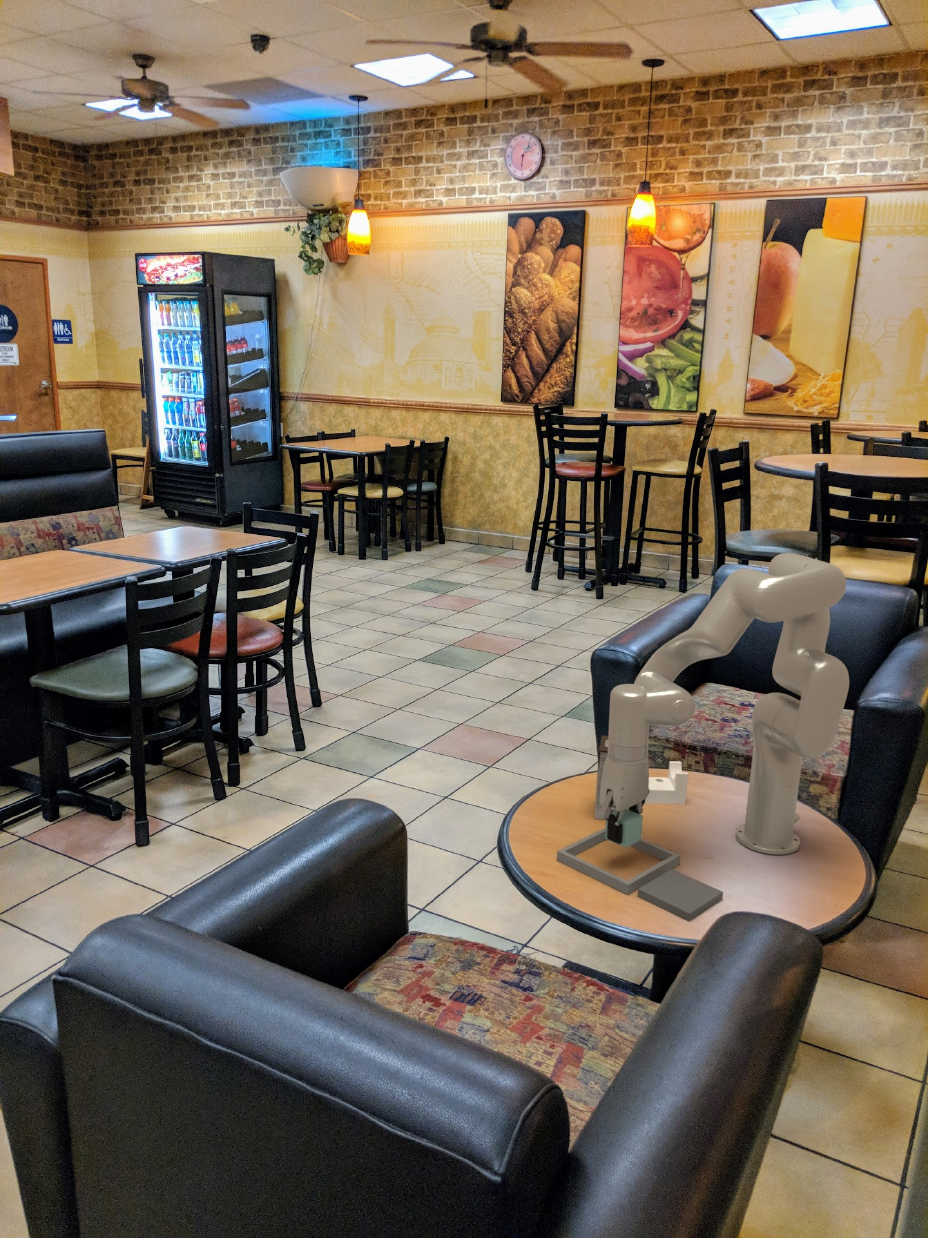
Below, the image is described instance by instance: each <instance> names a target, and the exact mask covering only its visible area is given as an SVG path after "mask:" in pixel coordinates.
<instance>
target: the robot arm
mask: <svg viewBox="0 0 928 1238" xmlns="http://www.w3.org/2000/svg"><path fill="white" fill-rule="evenodd" d="M846 589H847V578H846V575H845V574H844V572H843V571H842V570H841V568H839V567H838V566H836V565H834V564H831V563H829V562H826V561H823V560H819V559H815V558H813V557H809V556H805V555H802V554H798V553H793V552H783V553H780V554H778V555H776V556H774V557H773V558H772V559H771V560H770V563H769V566H768V570H767V573H766V572H763V571H760V570H756V569H753V568H752V569H751V568H738V569H736V570H734V571H733V572H731V573H730V574H729V575H728V576H727V578H726V579H725V580H724V582H723V583H722V584H721V586H720V587H719V588H718V590H717V591H716V592H715V594H714V595H713V596H712V597H711V600H710V601H709V602H708V603H707V605H706V606H705V608H704V609H703V611H702V612H701V614H700V615H698V618H697V619H696V621H695V622H694V623H693V624H692V626H691V627H690V628H688V629H687V630H686V631H684V632H682V633H679V634H678V635H677V636H675V637H673V638H672V639H670V640H669V641H667V642H666V643H664V644H663V645H662V646H661V647H659V648H658V649H657V650H656V651H655V652H654V653H653V654H651V657H650V658H649V659H648V660H647V661H646V663H645V665H643V667H642V669H641V670H640V672H639V673H638V675H637V676H636V678H635V680H634V683H624V684H622V683H621V684H619V685H617V686H615V687H613V688H612V690H611V691H610V696H609V699H610V700H609V716H608V717H609V718H608V735H607V736H608V757H607V758H606V760H605V763H604V767H603V773H602V779H601V788H600V805H602V807H601V809H600V811H599V814H600V815H602V816H603V817H604V818H605V819H606V820H605V822H606V821H607V822H608V826H607V839H608V840H607V839H606V840H607V841H609V840H611V841H613V842H612V843H614V842H615V843H614V844H616V843H618V844H621V843H622V832H623V825H622V824H621V820H622V815H623V811H624V810H625V809H627V810H630V811H632V812H635V813H637V814H640V815H642V814H643V811H644V808H643V806H644V804H646V803H645V799H646V798H647V796H648V795H649V793H650V790H649V788H648V787H649V777H650V772H649V771H650V766H649V756H648V755H649V754H648V753H649V737H650V726H662V727H663V726H664V727H675V726H676V727H677V726H681V725H683V724H685V723H687V722H688V721H690V720H691V718H692V717H693V716H694V714H695V711H696V704H695V703H696V702H695V699H694V698H693V696H692V695H691V693H690V692H689V691H687V690H686V689H685V688H683V687H681V686H680V685H677V684H676V683H674V681H675V680H676V678H677V677H678V676H679V675H680V673H682V671H684V670H685V669H686V668H688V666H690V665H692V664H694V663H696V662H700V661H703V660H708V659H714V658H719V657H724V656H727V655H728V654H730V653H731V651H732V650H733V649H734V646H736V644H737V643H738V642H739V641H740V639H741V637H742V636H743V634H744V633H745V632H746V630H747V628H748V627H749V626H750V625H751V623H752V622H753V621H754V620H755V619H757V620H759V621H761V622H765V623H770V624H771V623H773V624H774V623H780V622H783V624H782V625H783V626H782V630H781V634H780V638H779V640H778V641H779V642H778V643H777V644H778V645H777V649H776V651H775V652H776V653H775V657H774V659H773V664H772V670H771V671H772V672H771V673H772V678H773V679H774V681H775V683H777V684H778V685H779V686H781V687H782V688H784V689H786V690H788V691H790V692H792V693H794V694H796V695H798V696H800V700H799V699H797V698H795V697H794V696H791V695H789V694H786V693H782V692H769V693H766V694H765V695H762V696H761V697H760V698H759V699H758V700H757V702H756V703H755V705H754V707H753V710H752V712H751V713H752V714H751V728H752V742H753V743H752V744H753V747H752V758H751V766H750V775H749V785H748V793H747V801H746V802H747V803H746V812H745V819H744V823H742V824H740V825H739V826H738V827H737V828H736V832H735V837H736V840H737V841H738V842H739V843H740V844H741V845H742V846H744V847H746V848H748V849H750V850H752V851H754V852H758V853H762V854H767V855H775V856H776V855H779V856H780V855H781V856H782V855H788V854H792V853H794V852H796V851H797V850H799V848H800V844H801V841H800V838H799V836H798V835H797V834H796V833H795V832H794V826H795V824H797V823H798V822H799V821H800V819H801V816H800V815H799V813H797V812H796V811H797V803H798V802H797V801H798V797H799V796H798V795H799V787H800V780H801V772H802V758H803V759H811V760H812V759H817V758H820V757H822V756H823V755H824V754H826V753H827V752H828V750H829V749H830V747H831V746H832V744H833V742H834V740H835V738H836V735H837V731H838V730H839V726H840V721H841V718H842V714H843V711H844V708H845V703H846V700H847V697H848V693H849V688H850V677H849V675H850V674H849V671H848V669H847V667H846V665H845V664H844V663H843V662H842V661H841V660H840V659H839V658H838V657H836V656H833V655H831V654H828V653H826V644H827V641H828V637H829V631H830V627H831V626H830V625H831V613H830V608H831V607H834V606H835V605H836V604H838V603H839V602H840V601H841V599H842V598H843V597H844V596H845V595H844V594H845V593H846ZM614 805H615V806H614ZM613 810H614V811H616V812H617V816H615V815H614V814H613ZM611 841H610V842H611ZM618 844H617V845H618Z"/></svg>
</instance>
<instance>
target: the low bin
mask: <svg viewBox="0 0 928 1238" xmlns="http://www.w3.org/2000/svg"><path fill="white" fill-rule="evenodd" d="M605 830H606V827H603V828H602V829H599V830H597V831H595V832H593V833H592V834H589V835H587V836H586V837H585V836H584V837H583V838H581V839H579V840H577V841H575V842H572V843H570V844H569V845H567V846H564V847H562V848H561V849H558V850H557V852H556V861H557V862H559V863H561V864H563V865H566V866H568V867H569V868H572V869H574V870H576V871H578V872H580V873H582V874H584V875H586V876H588V877H590V878H592V879H594V880H596V881H598V882H600V883H603V884H604V885H607V886H609V887H611V888H613V889H615V890H616V891H619V892H621V893H623V894H625V895H630V894H631V893H633V892H635V891H638V889H639V888H640V887H642V886H644V885H645V884H647V883H649V882H651V881H652V880H654V879H656V878H658V877H659V876H661V875H663V874H664V873H666V872H668V871H670V870H671V869H673V870H674V868H677V867H678V866H679V865H680V863H681V862H680V861H681V855H680V854H678V853H677V852H676V853H675V851H672V850H669V849H667V848H664V847H663V846H660V845H657V844H655V843H653V842H651V841H648V840H646V839H644V838H641V840H639V841H637V842H636V843H634V844H632V845H630V846H629V847H631V848H635V849H637V850H639V851H642V852H643V853H646V854H648V855H650V856H652V857H654V858H657V859H659V860H662V861H660V862H658V863H656V864H655V865H653V866H651V867H649V868H647V869H646V870H644V871H643V872H640V873H639V874H637V875H635V876H633V877H632V878H630V879H628V880H626V879H624V878H622V877H619V876H617V875H615V874H613V873H611V872H610V871H607V870H604V869H602V868H601V867H599V866H597V865H594V864H592V863H590V862H588V861H586V860H583V859H582V858H579V857H578V856H576V855H579V854H581V852H584V851H586V850H588V849H590V848H592V847H594V846H596V845H598V844H599V843H602V842H604V841H607V839H605Z"/></svg>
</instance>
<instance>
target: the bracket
mask: <svg viewBox="0 0 928 1238" xmlns="http://www.w3.org/2000/svg"><path fill="white" fill-rule="evenodd" d="M682 765H683V763H682V761H676V760H675V761H672V760H671V761H669V765H668V773H667V774H668V775H667V776H668V777H662V776H661V777H658V776H657V777H656V776H655V777H654V776H649V787H648V788H649V790H650V793H649V795H648V796H647V798H646V799H645V803H644V804H654V805H655V804H659V805H660V804H661V805H663V804H664V805H686V803H687V793H688V783H689V773H688V772H685V771H684V772H683V770H682Z"/></svg>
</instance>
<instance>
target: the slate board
mask: <svg viewBox="0 0 928 1238" xmlns="http://www.w3.org/2000/svg"><path fill="white" fill-rule="evenodd" d="M636 895H637V897H638V898H640V899H643V900H645V901H647V902H649V903H650V904H653V905H654V906H657V907H659V908H661V909H662V910H665V911H667V912H668V913H671V914H673V915H676V916H678V917H679V918H682V919H683V920H685V921H688V922H690V921H691V920H693V919H695V918H696V917H698V916H700V915H701V914H702V913H704V912H705V911H707V910H709V909H710V908H711V907H713V906H714V905H716V904H718V903H719V902H721V901H722V900H723V899H724V898H723V897H724V896H723V895H724V891H722V890H721V889H719V888H715V887H714V886H711V885H710V884H709V885H708V884H707V883H705V882H702V881H700V880H698V879H696V878H693V877H691V876H689V875H687V874H685V873H682V872H679V871H677V870H675V869H674V868H673V869H671V870H669V871H668V872H666V873H664V874H662V875H661V876H659V877H657V878H656V879H654V880H652V881H650V882H649V883H647V884H645V885H643V886H642V887H640V888H638V889H637V894H636Z"/></svg>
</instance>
